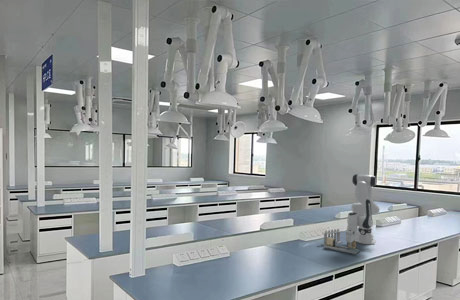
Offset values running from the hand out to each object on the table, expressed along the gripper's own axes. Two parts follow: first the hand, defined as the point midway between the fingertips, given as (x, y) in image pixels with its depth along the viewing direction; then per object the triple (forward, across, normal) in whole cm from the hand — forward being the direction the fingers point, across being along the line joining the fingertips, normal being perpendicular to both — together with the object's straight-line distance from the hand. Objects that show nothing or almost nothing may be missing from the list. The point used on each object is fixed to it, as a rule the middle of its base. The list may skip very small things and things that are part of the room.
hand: (352, 245), depth 287 cm
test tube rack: (+4, -7, -22) cm, 23 cm away
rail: (+4, +10, -6) cm, 12 cm away
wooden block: (+4, 0, 0) cm, 4 cm away
